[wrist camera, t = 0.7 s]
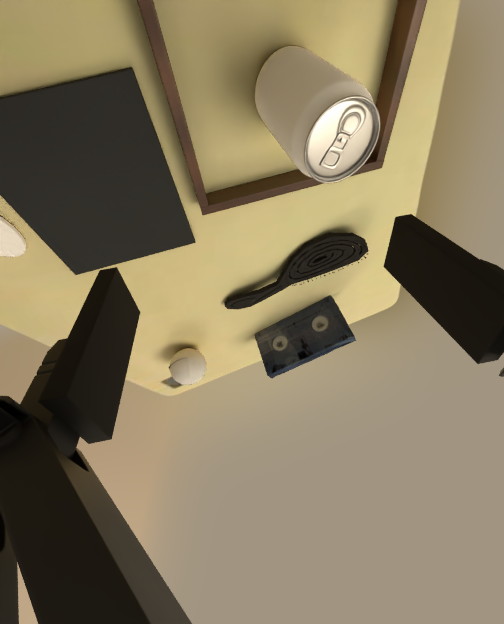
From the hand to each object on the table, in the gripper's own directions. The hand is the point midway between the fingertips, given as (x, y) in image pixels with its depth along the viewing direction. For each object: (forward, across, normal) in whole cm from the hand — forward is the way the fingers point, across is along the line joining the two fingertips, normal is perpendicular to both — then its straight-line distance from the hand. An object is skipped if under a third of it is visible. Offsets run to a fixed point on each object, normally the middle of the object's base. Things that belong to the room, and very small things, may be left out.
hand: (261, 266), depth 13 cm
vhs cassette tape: (+31, +9, -34) cm, 47 cm away
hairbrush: (+27, +8, -19) cm, 34 cm away
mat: (+21, -14, -1) cm, 25 cm away
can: (+22, +7, +5) cm, 23 cm away
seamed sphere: (+29, -16, -36) cm, 49 cm away
